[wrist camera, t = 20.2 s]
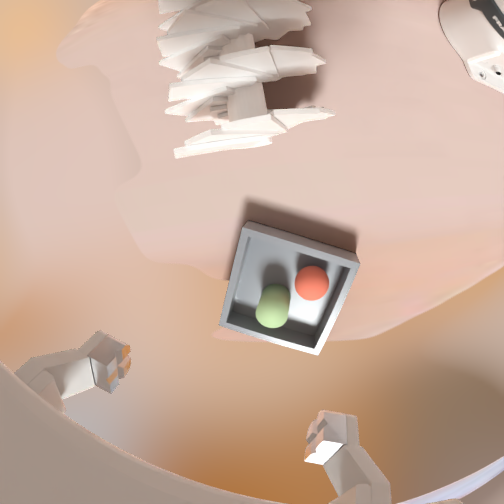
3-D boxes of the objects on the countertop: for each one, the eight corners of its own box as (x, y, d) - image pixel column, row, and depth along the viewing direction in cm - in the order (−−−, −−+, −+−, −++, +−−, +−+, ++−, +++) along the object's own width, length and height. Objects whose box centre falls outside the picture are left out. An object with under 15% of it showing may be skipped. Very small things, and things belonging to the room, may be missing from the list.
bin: (355, 253, 39) (360, 263, 35) (318, 340, 44) (318, 355, 41) (248, 220, 40) (242, 227, 36) (225, 312, 46) (218, 325, 42)
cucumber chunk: (294, 288, 42) (292, 306, 37) (285, 312, 43) (282, 331, 38) (266, 280, 42) (260, 296, 37) (258, 304, 44) (252, 322, 39)
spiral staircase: (271, 7, 32) (300, 148, 38) (157, 14, 28) (173, 166, 35) (318, -61, 14) (381, 126, 21) (153, -67, 11) (164, 144, 17)
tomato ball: (322, 294, 41) (322, 311, 37) (291, 284, 42) (288, 301, 37) (333, 266, 39) (335, 281, 35) (301, 256, 40) (299, 269, 35)
